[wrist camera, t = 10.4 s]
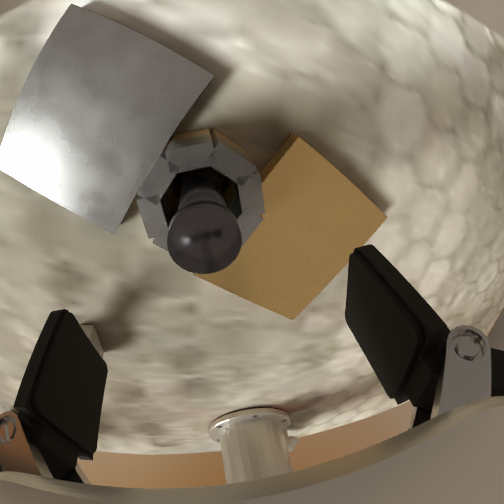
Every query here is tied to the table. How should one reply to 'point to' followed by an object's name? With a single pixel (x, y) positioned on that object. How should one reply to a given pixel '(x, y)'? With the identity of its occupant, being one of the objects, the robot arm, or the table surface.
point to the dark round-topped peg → (203, 225)
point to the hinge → (175, 161)
